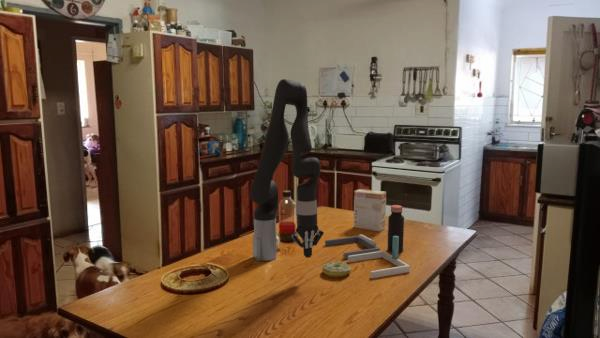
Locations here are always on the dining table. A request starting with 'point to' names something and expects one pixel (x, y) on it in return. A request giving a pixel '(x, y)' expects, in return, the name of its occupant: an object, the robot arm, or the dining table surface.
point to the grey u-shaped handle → (360, 239)
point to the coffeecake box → (369, 209)
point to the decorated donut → (336, 269)
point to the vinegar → (395, 227)
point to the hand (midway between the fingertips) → (307, 257)
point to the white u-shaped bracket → (392, 258)
